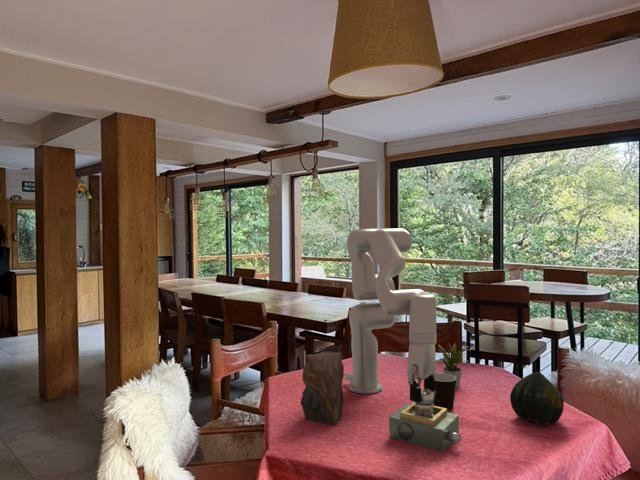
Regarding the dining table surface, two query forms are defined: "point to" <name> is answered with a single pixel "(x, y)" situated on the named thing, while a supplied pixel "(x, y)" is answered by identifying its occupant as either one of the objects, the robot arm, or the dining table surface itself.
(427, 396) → the silver lidded pot
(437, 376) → the coffee mug
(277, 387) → the dining table surface
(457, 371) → the house plant
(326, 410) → the brown rock
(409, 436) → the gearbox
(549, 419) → the squash
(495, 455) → the dining table surface
